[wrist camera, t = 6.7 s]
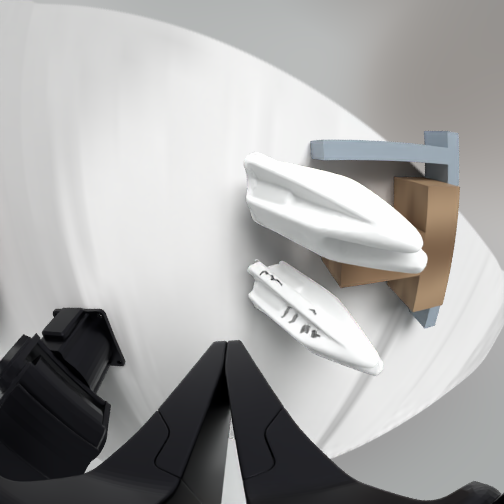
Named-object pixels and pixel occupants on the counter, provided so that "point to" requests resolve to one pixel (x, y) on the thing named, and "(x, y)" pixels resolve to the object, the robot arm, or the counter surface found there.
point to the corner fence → (432, 153)
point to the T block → (434, 245)
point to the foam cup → (232, 477)
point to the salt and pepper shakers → (324, 252)
